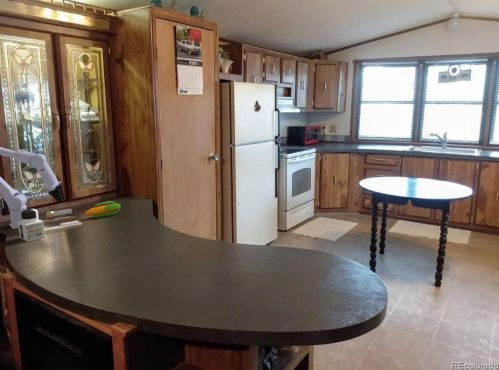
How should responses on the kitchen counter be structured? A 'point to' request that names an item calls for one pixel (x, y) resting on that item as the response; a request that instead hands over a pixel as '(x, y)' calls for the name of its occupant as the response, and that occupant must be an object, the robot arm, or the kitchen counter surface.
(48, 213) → the bar
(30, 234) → the container
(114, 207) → the corn
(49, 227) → the brown-striped cream panel
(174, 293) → the kitchen counter surface
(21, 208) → the robot arm
